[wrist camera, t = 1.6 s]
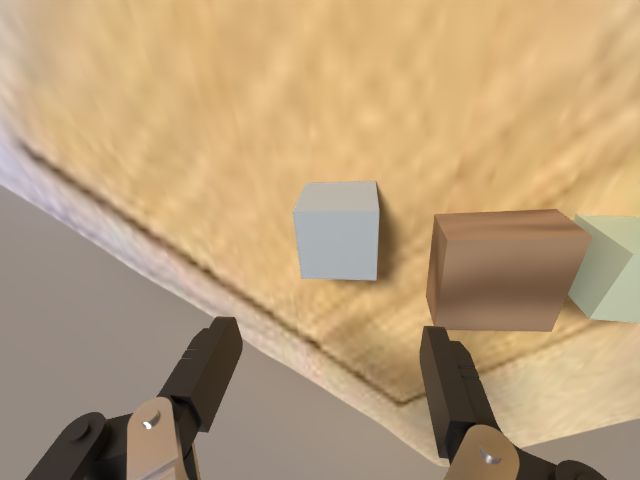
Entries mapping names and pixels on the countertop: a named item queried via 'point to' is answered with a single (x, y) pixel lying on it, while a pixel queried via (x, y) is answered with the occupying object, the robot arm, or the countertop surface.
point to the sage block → (609, 269)
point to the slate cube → (338, 230)
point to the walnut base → (503, 269)
